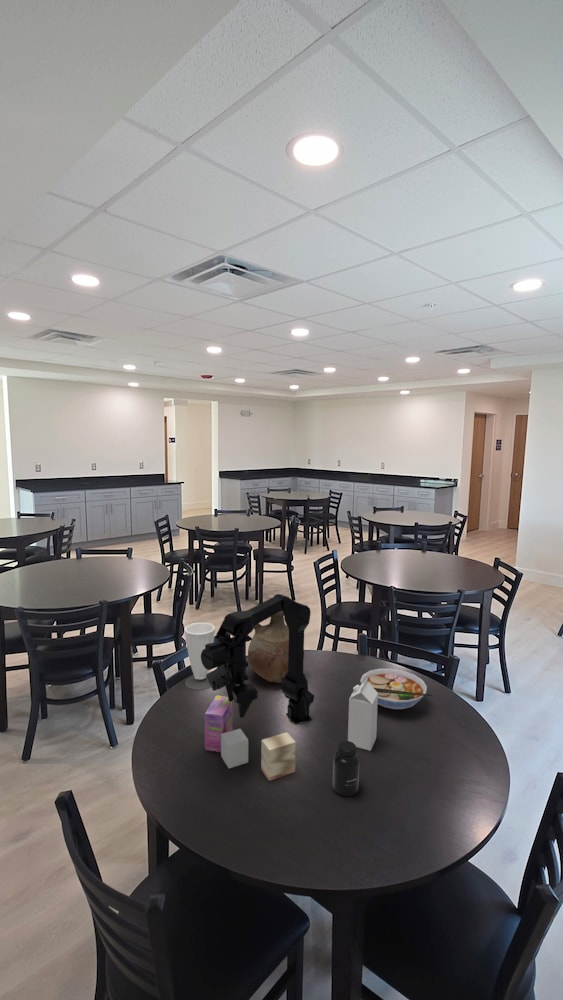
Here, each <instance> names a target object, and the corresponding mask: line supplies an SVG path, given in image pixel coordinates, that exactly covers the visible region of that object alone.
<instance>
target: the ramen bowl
mask: <svg viewBox="0 0 563 1000" xmlns="http://www.w3.org/2000/svg"><path fill="white" fill-rule="evenodd" d="M366 679H367V682H368V683H369V684H370V685H371V686H372V687H373V688H374V689H375V690H376V691H377V693H378V704H377V705H379V706H381V707H384V708H387V709H392V710H405V709H408V708H412V707H414V705H416V704H417V703H419V702H420V701H421V700H422V699H423V698H424V697H431V694H429V693H427V688H428V686H427V685H426V683H425V681H424V680H423V679H421V678H420V677H419V676H417V675H415V674H414V673H411V672H408V671H406V670H401V669H397V668H396V669H395V668H377V669H376V668H375V669H371V670H368V671H366V673H364V674H362V676H361V678H360V680H359V681H360V683H361V684H360V685H362V684H363V683H364V682H365V680H366Z"/></svg>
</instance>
